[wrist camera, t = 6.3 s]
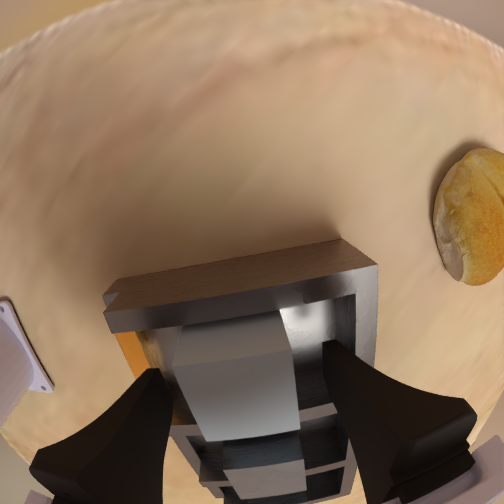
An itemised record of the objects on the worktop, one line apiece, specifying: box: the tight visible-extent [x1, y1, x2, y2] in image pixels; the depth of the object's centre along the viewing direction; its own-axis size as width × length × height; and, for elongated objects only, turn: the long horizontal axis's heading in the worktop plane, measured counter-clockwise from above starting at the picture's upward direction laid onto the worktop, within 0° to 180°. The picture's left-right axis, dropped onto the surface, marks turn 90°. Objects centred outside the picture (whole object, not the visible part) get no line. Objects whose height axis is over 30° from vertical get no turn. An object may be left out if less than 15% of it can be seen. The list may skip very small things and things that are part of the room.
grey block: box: [171, 310, 300, 442], centre depth 12 cm, size 4×4×5 cm
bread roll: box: [433, 148, 504, 286], centre depth 12 cm, size 8×9×4 cm
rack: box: [102, 239, 378, 504], centre depth 14 cm, size 12×22×6 cm, turn 10°
